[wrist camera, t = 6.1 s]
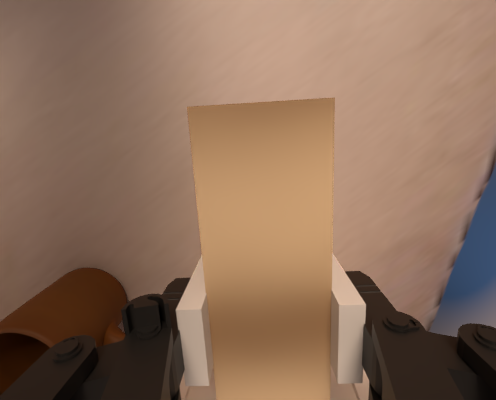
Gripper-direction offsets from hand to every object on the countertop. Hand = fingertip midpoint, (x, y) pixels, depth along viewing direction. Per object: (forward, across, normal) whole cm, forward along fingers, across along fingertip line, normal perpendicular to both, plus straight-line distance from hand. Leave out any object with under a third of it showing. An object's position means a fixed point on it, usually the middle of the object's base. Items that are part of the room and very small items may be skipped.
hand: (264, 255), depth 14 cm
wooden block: (0, 0, 0) cm, 0 cm away
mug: (+12, -16, -10) cm, 23 cm away
